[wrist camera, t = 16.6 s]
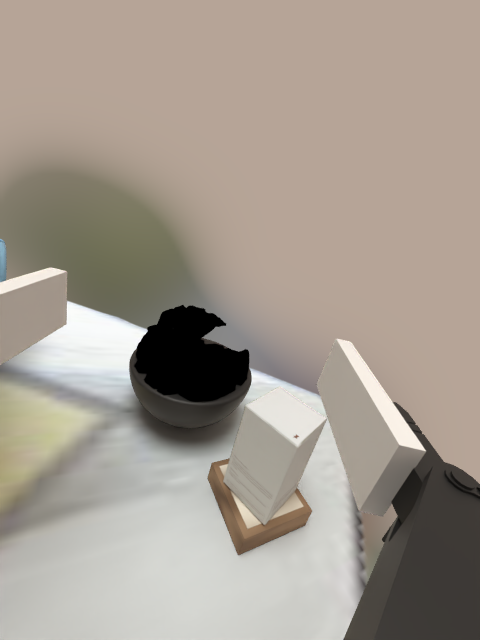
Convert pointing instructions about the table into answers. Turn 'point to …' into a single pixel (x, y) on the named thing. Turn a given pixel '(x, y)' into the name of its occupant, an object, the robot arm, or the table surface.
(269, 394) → the supplement box
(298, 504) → the walnut base
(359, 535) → the table surface
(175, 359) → the bowl of black rocks
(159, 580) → the table surface
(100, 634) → the table surface
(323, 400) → the robot arm
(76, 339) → the table surface
